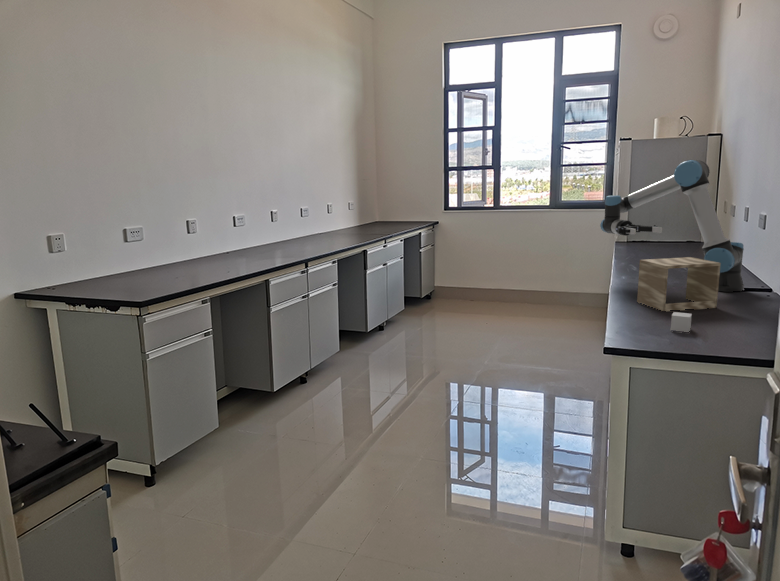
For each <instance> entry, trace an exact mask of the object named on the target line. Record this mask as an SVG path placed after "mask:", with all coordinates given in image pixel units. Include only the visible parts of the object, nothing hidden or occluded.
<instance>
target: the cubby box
mask: <svg viewBox="0 0 780 581" xmlns="http://www.w3.org/2000/svg"><path fill="white" fill-rule="evenodd" d="M720 265H721V263H719V262H714V261H708V260H704V258H703V259H702V258H697V257H693V256H692V257H691V256H686V257H685V256H684V257H683V256H682V257H671V258H670V257H669V258H667V257H666V258H651V259H649V258H647V259H639V265H638V279H637V280H638V284H637V297H636V303H637V302H638V304H640V303H642V304H641V305H643V304H645V305H647V306H646V307H648V306H650V307H649V308H651V307H653V308H652V309H654V308H656V309H655V310H657V309H658V310H657V311H659V310H661V311H660V312H662V311H666V312H671V311H670V310H680V311H686V310H685V309H694V310H705V309H706V310H707V308H709V309H716V308H717V305H718V297H719V291H718V286H719V275H720ZM685 268H687V278H686V288H685V300H686V299H688V300H687V301H688V302H675V303H673V302H672V303H666V301H667V289H668V276H669V269H672V270H673V269H685ZM689 300H691V301H690V302H689ZM693 301H694V302H693ZM645 305H644V306H645Z"/></svg>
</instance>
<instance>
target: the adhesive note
mask: <svg viewBox="0 0 780 581" xmlns="http://www.w3.org/2000/svg"><path fill="white" fill-rule="evenodd" d="M672 312H673V313H672V314H671V320H670V331H671V330H676V331H684V332H689V331H690V332H691V329H690V328H691V327H692V326H691V325H692V318H693V317H692V315H693V314H692V313H687V312H678V311H672ZM690 332H689V333H690Z"/></svg>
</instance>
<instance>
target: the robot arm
mask: <svg viewBox="0 0 780 581" xmlns="http://www.w3.org/2000/svg"><path fill="white" fill-rule="evenodd" d="M710 173H711V172H710V167H709V166H708V164H707V163H706V162H705V161H702V160H697V159H696V160H695V159H687V160H685V161H682V162H680V163H679V164H678V165H677V166H676V167H675V170H674V172H673V175H671V176H669V177H665V178H664V179H662V180H659V181H658V182H654V183H652V184H650V185H648V186H646V187H644V188H641V189H639V190H637V191H634V192H632V193H630V194H628V195H625V196H623V197H621V195H616V194H615V195H607V196H605V200H604V217H603V219H602V220H601V222H600V225H599V226H600V230H601V231H603V233H604V232H605V233H607V234H612V235H617V236H618V237H619V236H623V237H624V236H629V235H634V236H636V233H641V232H649V233H655V234H663V227H660V226H658V225H655V224H654V225H643V224H642V225H641V224H640V225H639V224H633V222H632V221H631V220H627V219H621V214H622V213H623V214H624V213H627V212H629V211H631V210H633V209H635V208H638V207H640V206H642V205H645V204H647V203H649V202H652V201H654V200H656V199H658V198H659V199H660V198H661V197H664V196H667V195H668V194H671V193H674V192H676V191H678V190H681V192H682V194H684V195H686V196H687V198H688V201H689V203H690V207H691V209H692V212H693V215H694V218H695V221H696V224H697V227H698V229H699V232H700V235H701V237H702V240H703V245H702V247H701V249H702V251H703V255H704V257H703V260H708V261H714V262H719V263H721V265H720V275H719V286H718V292H724V293H725V292H727V293H734V292H733V291H740V292H743V291H744V290H745V285H744V282H743V278H742V264H743V257H744V250H745V249H744V244H743V243H742V242H735V241H731V239H729V238H727V237H725V234H724V231H723V229H722V225H721V223H720V220H719V218H718V214H717V212H716V210H715V206H714V203H713V200H712V198H711V195H710V192H709V189H708V187H709V185H710V180H709V176H710ZM743 289H744V290H743ZM742 290H743V291H742Z"/></svg>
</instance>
